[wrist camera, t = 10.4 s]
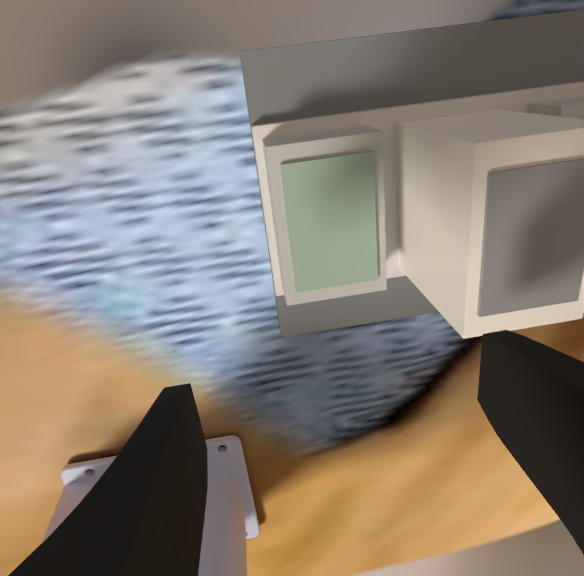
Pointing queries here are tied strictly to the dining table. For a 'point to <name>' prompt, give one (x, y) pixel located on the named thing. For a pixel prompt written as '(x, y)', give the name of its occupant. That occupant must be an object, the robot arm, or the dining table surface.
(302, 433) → the dining table surface
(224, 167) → the dining table surface
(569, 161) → the module block
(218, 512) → the robot arm
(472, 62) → the mounting board
